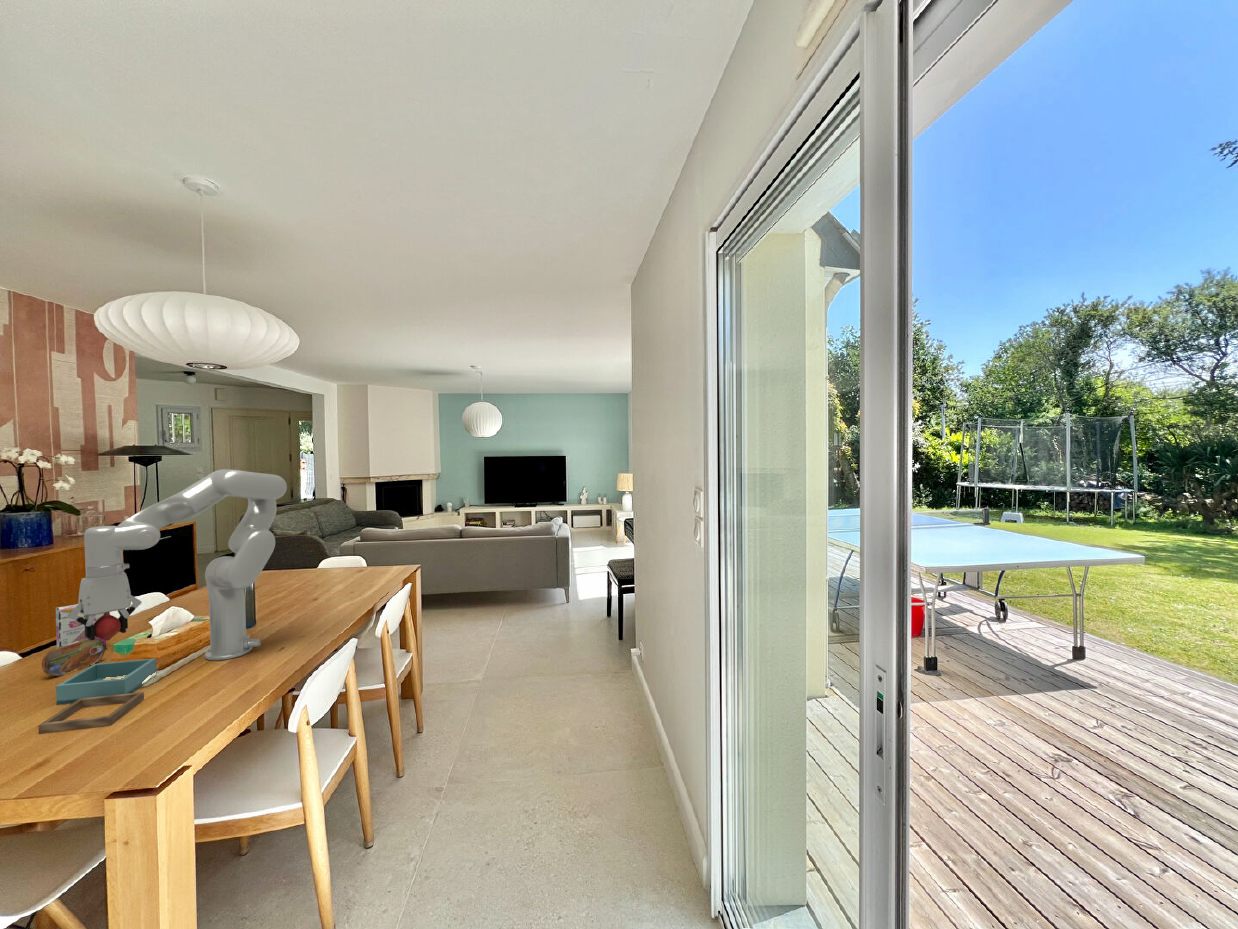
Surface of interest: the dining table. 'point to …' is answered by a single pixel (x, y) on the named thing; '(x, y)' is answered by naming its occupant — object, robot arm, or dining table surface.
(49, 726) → the frame
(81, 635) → the candy bar box
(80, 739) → the dining table surface
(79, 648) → the tin
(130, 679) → the bin
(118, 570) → the robot arm
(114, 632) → the onion
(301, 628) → the dining table surface
